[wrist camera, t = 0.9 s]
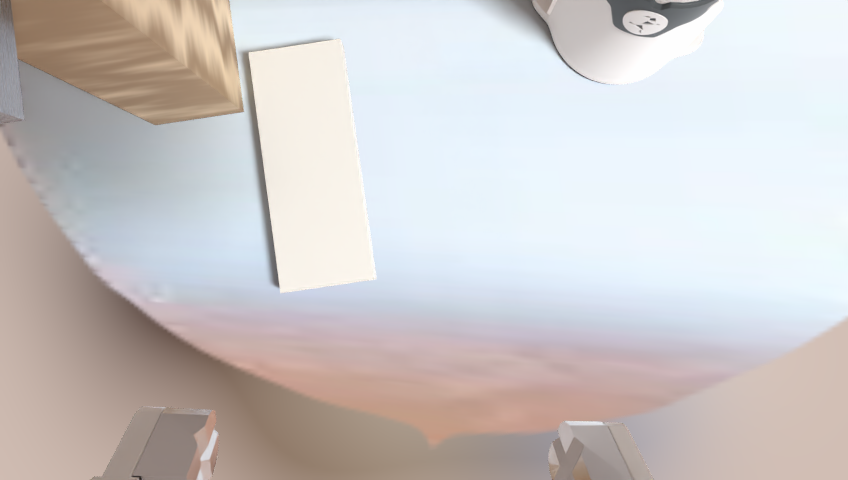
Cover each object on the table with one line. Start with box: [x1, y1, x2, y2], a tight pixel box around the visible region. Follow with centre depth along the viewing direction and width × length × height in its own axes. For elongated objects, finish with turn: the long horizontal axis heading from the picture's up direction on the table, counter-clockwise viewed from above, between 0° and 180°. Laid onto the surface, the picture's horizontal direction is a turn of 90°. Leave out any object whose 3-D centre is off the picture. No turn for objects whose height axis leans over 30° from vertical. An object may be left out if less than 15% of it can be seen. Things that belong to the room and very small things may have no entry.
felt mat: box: [249, 39, 377, 293], centre depth 53 cm, size 26×10×2 cm, turn 8°
